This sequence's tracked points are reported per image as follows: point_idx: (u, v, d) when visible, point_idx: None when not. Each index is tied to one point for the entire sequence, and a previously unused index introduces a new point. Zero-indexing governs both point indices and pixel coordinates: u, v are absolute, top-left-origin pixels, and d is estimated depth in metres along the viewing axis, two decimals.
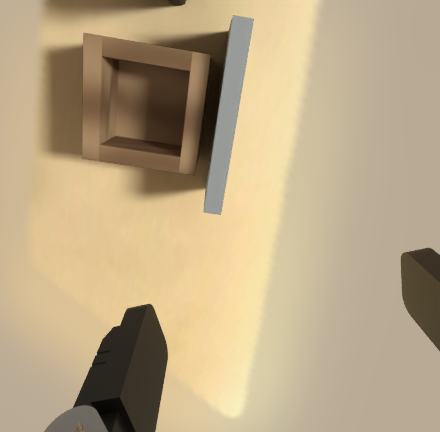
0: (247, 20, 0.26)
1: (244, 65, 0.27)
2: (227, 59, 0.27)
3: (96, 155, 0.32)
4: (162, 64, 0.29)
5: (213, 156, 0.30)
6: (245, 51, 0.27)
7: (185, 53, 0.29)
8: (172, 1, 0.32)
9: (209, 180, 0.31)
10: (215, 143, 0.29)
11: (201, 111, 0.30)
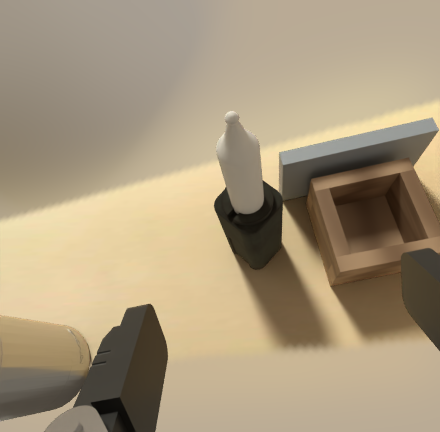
0: (281, 155, 0.37)
1: (310, 146, 0.36)
2: (311, 157, 0.36)
3: None
4: (334, 208, 0.36)
5: (386, 140, 0.35)
6: (301, 149, 0.37)
7: (318, 195, 0.36)
8: (281, 239, 0.41)
9: (407, 136, 0.35)
10: (375, 143, 0.35)
11: (354, 170, 0.37)
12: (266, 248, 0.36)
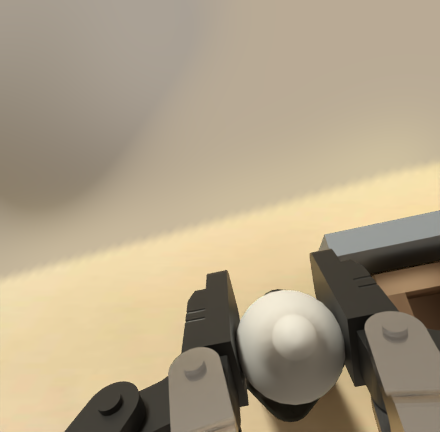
0: (329, 240, 0.23)
1: (374, 225, 0.23)
2: (378, 246, 0.22)
3: None
4: None
5: None
6: (360, 230, 0.23)
7: None
8: None
9: None
10: None
11: None
12: None
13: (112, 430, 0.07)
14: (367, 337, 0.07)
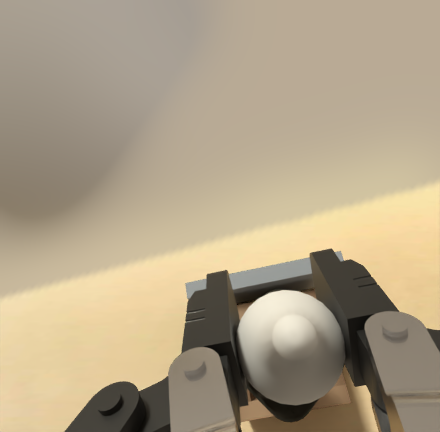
0: (187, 287, 0.35)
1: None
2: None
3: (341, 387, 0.32)
4: None
5: (292, 275, 0.34)
6: None
7: None
8: None
9: None
10: (281, 278, 0.34)
11: None
12: None
13: (112, 430, 0.07)
14: (367, 337, 0.07)
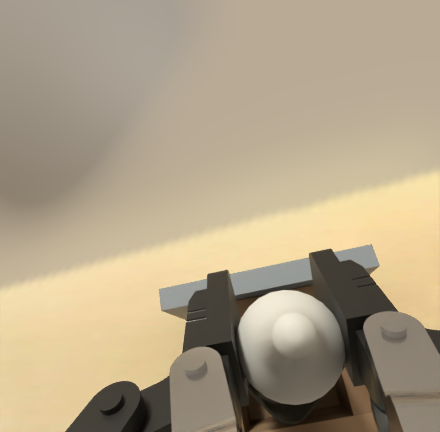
0: (161, 294, 0.26)
1: (201, 281, 0.26)
2: None
3: (371, 416, 0.23)
4: None
5: (305, 278, 0.25)
6: (188, 285, 0.26)
7: None
8: None
9: None
10: (289, 282, 0.25)
11: None
12: None
13: (113, 430, 0.07)
14: (366, 337, 0.07)
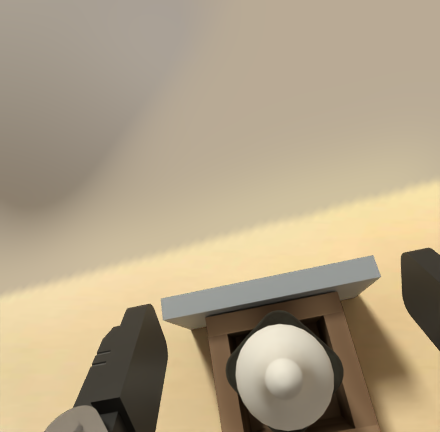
0: (163, 304, 0.26)
1: (202, 291, 0.26)
2: (202, 310, 0.25)
3: (372, 429, 0.23)
4: None
5: (306, 289, 0.25)
6: (190, 295, 0.26)
7: (211, 344, 0.26)
8: None
9: (337, 284, 0.25)
10: (291, 292, 0.25)
11: (263, 307, 0.27)
12: None
13: None
14: None
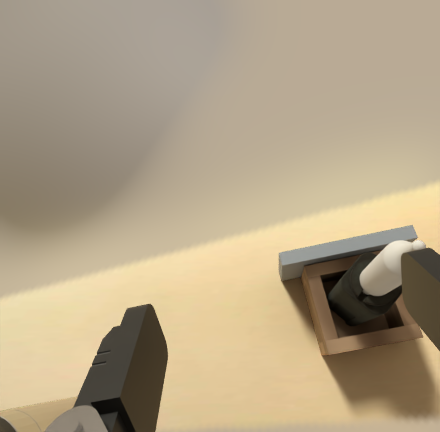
0: (281, 256, 0.42)
1: (305, 248, 0.42)
2: (307, 259, 0.41)
3: (414, 325, 0.39)
4: (324, 294, 0.41)
5: (372, 245, 0.41)
6: (298, 250, 0.42)
7: (310, 281, 0.42)
8: None
9: (390, 242, 0.40)
10: (362, 247, 0.41)
11: (341, 259, 0.42)
12: None
13: None
14: None
